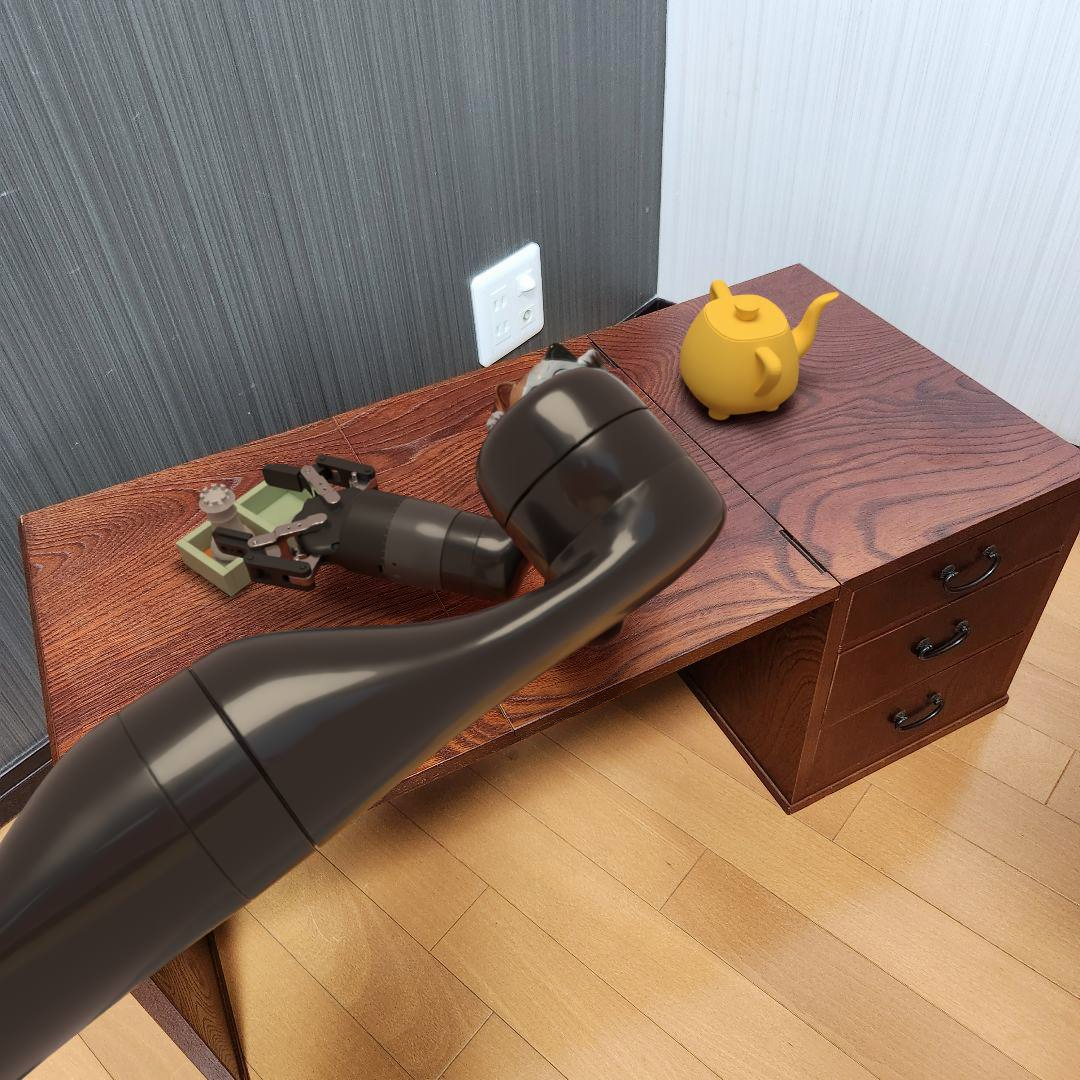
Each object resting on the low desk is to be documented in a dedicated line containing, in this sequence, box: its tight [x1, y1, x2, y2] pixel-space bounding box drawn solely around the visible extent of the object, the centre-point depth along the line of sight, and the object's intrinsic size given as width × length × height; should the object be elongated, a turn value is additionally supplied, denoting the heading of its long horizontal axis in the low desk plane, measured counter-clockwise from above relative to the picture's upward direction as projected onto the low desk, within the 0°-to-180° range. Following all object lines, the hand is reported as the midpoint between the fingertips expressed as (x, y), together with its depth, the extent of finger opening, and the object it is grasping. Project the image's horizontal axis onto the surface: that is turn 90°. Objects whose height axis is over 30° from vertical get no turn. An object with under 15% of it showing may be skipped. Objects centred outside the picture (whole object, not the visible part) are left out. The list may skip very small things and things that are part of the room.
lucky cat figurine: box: [485, 342, 611, 433], centre depth 93 cm, size 15×12×14 cm
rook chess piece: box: [198, 483, 256, 567], centre depth 87 cm, size 4×4×8 cm
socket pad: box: [175, 479, 311, 598], centre depth 91 cm, size 13×7×3 cm, turn 142°
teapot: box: [678, 279, 840, 421], centre depth 101 cm, size 14×14×12 cm
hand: (241, 504), depth 84 cm, fingers open, 8 cm apart
